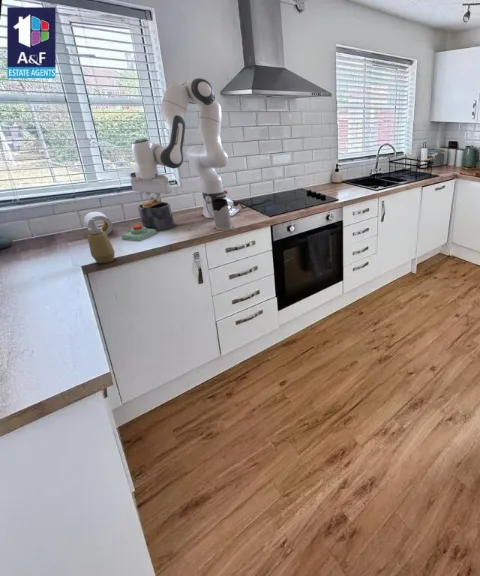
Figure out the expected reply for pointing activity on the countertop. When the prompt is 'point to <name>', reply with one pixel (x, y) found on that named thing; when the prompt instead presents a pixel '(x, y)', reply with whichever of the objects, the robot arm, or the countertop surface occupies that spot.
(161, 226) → the dark grey round container
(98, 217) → the toilet paper
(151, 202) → the bone dog treat
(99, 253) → the squeeze bottle
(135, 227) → the button
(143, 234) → the base
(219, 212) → the grey and black mug
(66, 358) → the countertop surface
